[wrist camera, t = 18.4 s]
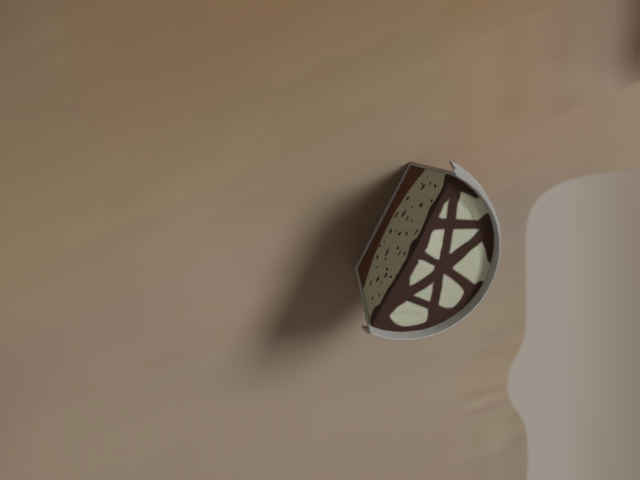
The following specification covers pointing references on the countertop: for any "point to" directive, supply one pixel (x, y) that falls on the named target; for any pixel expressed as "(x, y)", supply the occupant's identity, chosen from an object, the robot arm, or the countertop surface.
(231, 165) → the countertop surface
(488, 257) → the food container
